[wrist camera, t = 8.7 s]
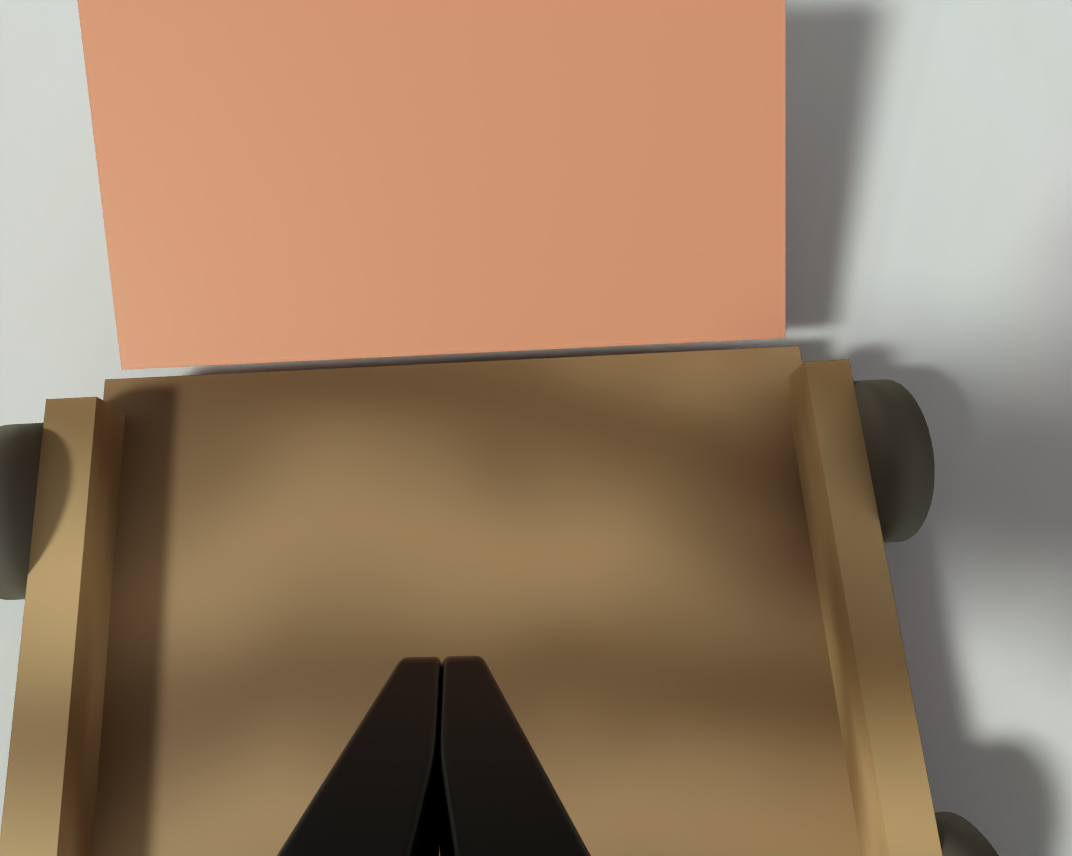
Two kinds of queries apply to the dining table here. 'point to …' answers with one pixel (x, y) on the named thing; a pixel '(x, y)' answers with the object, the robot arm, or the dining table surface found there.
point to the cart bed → (473, 597)
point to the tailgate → (437, 175)
